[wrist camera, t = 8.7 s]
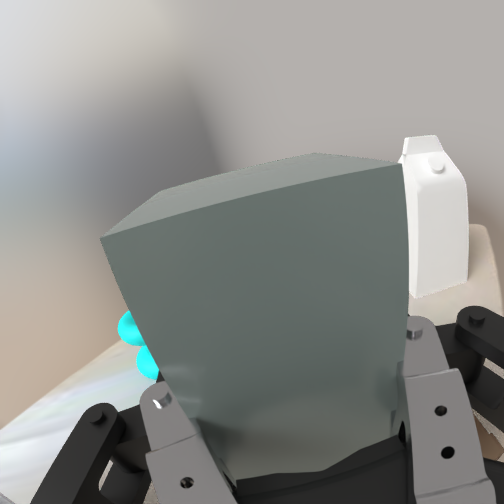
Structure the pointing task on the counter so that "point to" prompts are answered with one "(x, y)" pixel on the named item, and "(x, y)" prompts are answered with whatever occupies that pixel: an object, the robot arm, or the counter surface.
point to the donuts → (133, 337)
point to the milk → (434, 217)
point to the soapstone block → (275, 305)
